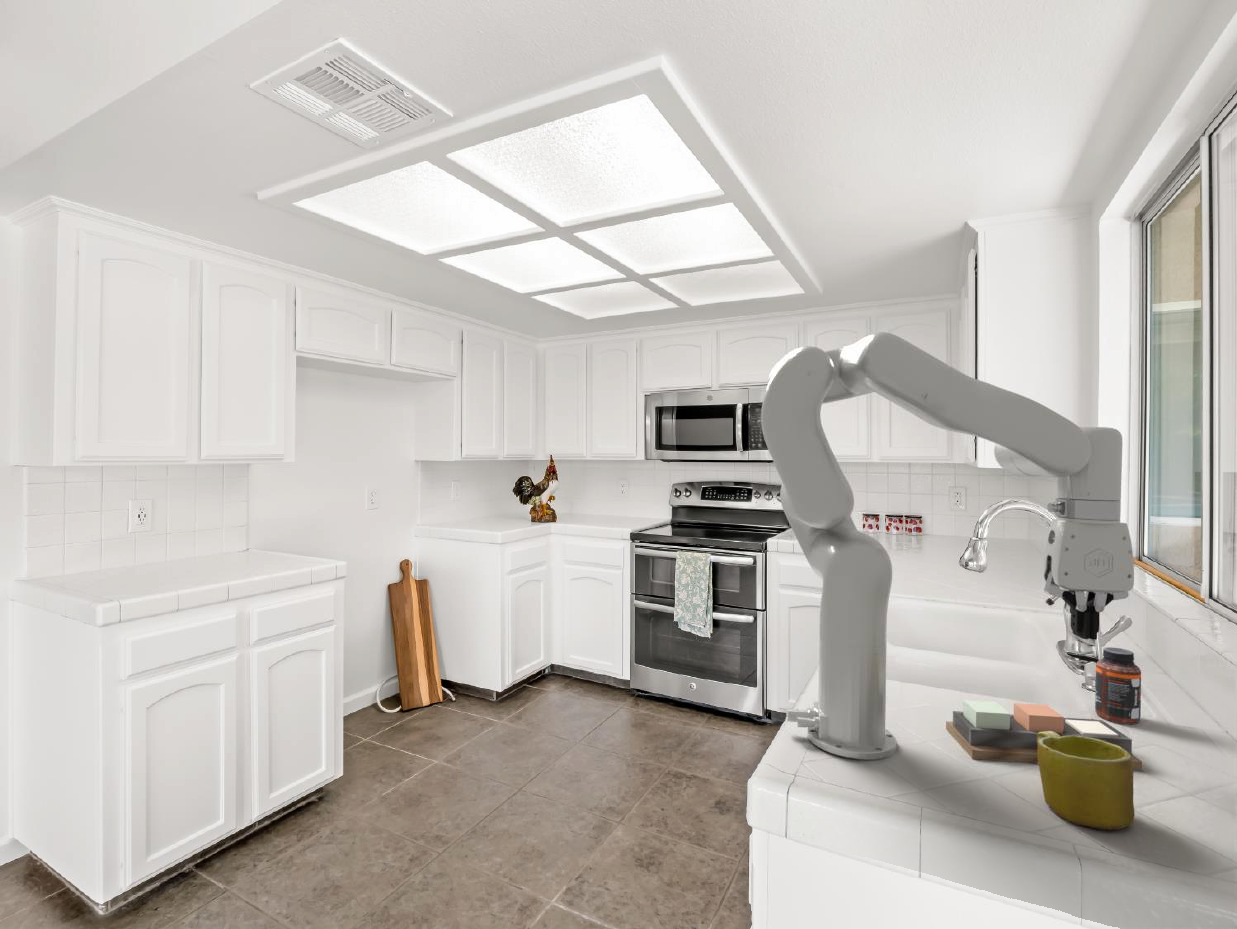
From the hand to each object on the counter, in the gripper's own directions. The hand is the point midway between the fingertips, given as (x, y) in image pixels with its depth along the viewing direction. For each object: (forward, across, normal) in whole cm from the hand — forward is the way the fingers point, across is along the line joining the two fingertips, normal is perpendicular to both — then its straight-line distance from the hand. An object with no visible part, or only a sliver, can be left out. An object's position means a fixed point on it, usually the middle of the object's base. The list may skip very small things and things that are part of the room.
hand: (1084, 636), depth 93 cm
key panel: (+17, -6, 0) cm, 18 cm away
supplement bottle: (+17, +13, +14) cm, 26 cm away
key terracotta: (+14, -6, 0) cm, 15 cm away
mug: (+17, -9, -16) cm, 25 cm away
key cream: (+16, +1, 0) cm, 16 cm away
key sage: (+14, -13, 0) cm, 19 cm away
